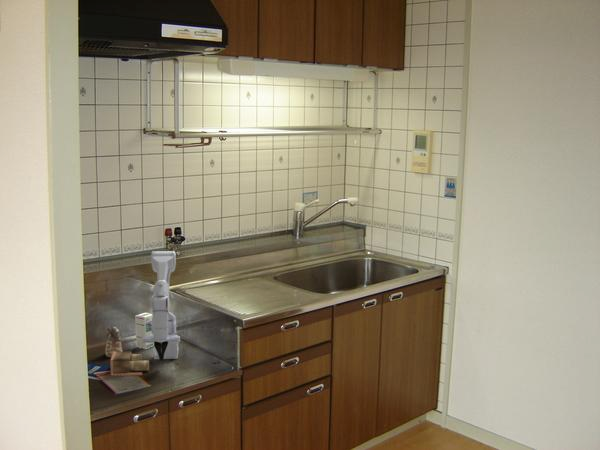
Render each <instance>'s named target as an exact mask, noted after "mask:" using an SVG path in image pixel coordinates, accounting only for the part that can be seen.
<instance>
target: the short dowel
mask: <svg viewBox="0 0 600 450" xmlns="http://www.w3.org/2000/svg"><path fill="white" fill-rule="evenodd" d="M132 361H143V359H142V353H132Z"/></svg>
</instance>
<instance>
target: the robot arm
mask: <svg viewBox="0 0 600 450" xmlns="http://www.w3.org/2000/svg"><path fill="white" fill-rule="evenodd" d="M150 255H151V256H150V261H151V263H150V264H151V267H152V271H153V272H155V273H156V276H157V278H156V279H157V281H155V283H154V286H153V298H152V299H151V304H150V305H151V312H152V313H151V314H153V318H152V325H151V331H152V334H153V335H154V336H150V337H143V338H142V343H153V342H154V346H153V347H154V348H155V352H154V355H153V356H154V357H153V360H159V361H164V360H174V359H175V360H177V359H178V357H179V353H180V351H179V350H180V349H179V343H180V342H181V336H180V335H177V322H176V321H177V320H176V319H177V317H176V315H174V314H173V313H171V312H170V277H171V274H172V273H173V272H175V270H176V262H177V259H176V258H177V254H176V251H175V250H172V251H171V250H170V251H169V250H167V251H165V250H164V251H163V250H162V251H157V250H156V251H155V250H152V252H151V253H150Z"/></svg>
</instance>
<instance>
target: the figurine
mask: <svg viewBox="0 0 600 450" xmlns="http://www.w3.org/2000/svg"><path fill="white" fill-rule="evenodd" d="M106 330H107V333H106V339H107V341H106V344H105V352H104V353H105V356H106V357H108V358H112V355H113V353H114V352H124V351H123V350H124V349H123V346H122V341H121V339H122V333H121V332H120V330H119V328H117V327H116V326H113V327H112V328H110V327H109V326H108V327H107V328H106ZM109 335H110V336H109Z"/></svg>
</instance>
